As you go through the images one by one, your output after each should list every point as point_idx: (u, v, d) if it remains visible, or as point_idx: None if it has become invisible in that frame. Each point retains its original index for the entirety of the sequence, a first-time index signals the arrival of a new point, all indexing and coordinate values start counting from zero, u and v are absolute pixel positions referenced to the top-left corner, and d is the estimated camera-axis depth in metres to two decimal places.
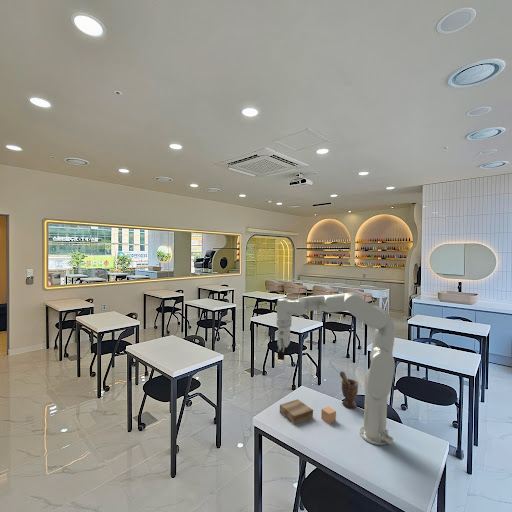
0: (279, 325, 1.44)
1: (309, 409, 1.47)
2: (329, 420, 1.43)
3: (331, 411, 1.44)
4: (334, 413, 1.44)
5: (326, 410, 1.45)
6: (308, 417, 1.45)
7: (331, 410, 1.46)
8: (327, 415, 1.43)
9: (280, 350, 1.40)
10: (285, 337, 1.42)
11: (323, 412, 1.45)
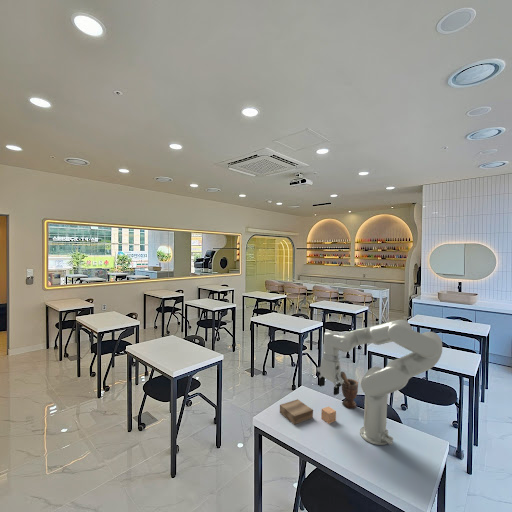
0: (333, 360, 1.42)
1: (309, 409, 1.47)
2: (329, 420, 1.43)
3: (331, 411, 1.44)
4: (334, 413, 1.44)
5: (326, 410, 1.45)
6: (308, 417, 1.45)
7: (331, 410, 1.46)
8: (327, 415, 1.43)
9: (340, 385, 1.40)
10: (340, 371, 1.42)
11: (323, 412, 1.45)
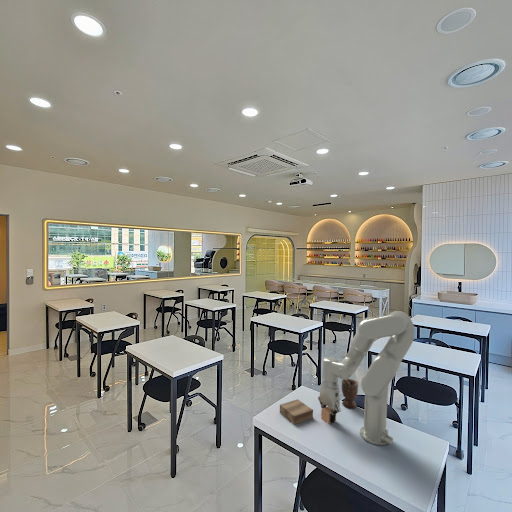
0: (332, 387, 1.42)
1: (309, 409, 1.47)
2: (329, 420, 1.43)
3: None
4: None
5: (326, 410, 1.45)
6: (308, 417, 1.45)
7: None
8: (327, 415, 1.43)
9: (336, 413, 1.41)
10: (339, 398, 1.42)
11: (323, 412, 1.45)
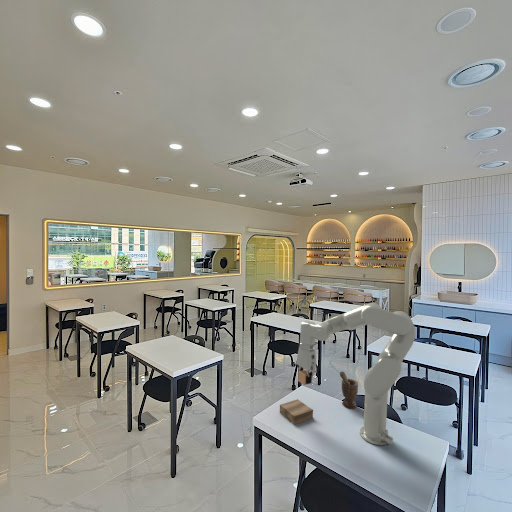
0: (309, 350, 1.44)
1: (309, 409, 1.47)
2: (305, 382, 1.45)
3: None
4: None
5: (303, 372, 1.47)
6: (308, 417, 1.45)
7: None
8: (303, 376, 1.45)
9: (312, 374, 1.44)
10: (315, 360, 1.44)
11: (300, 374, 1.48)
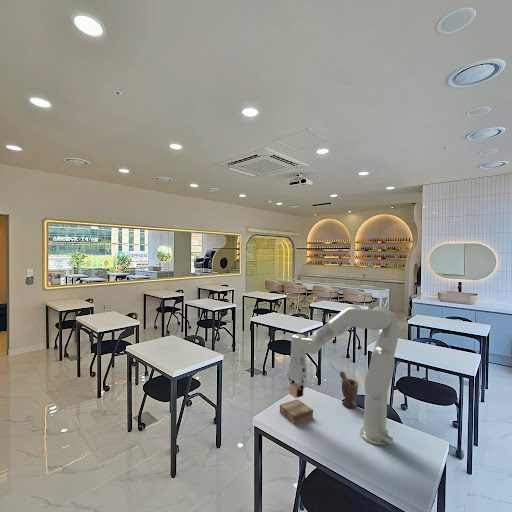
0: (299, 363, 1.45)
1: (309, 409, 1.47)
2: None
3: None
4: None
5: (294, 385, 1.48)
6: (308, 417, 1.45)
7: None
8: (294, 389, 1.46)
9: (303, 388, 1.44)
10: (306, 373, 1.45)
11: (291, 387, 1.48)
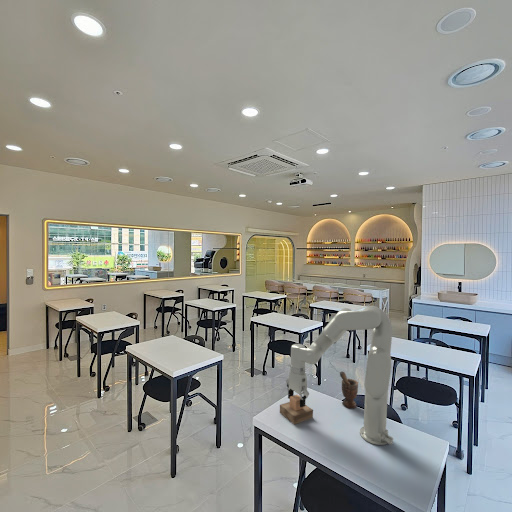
0: (299, 373, 1.45)
1: (309, 409, 1.47)
2: (297, 408, 1.46)
3: (299, 399, 1.47)
4: None
5: (294, 397, 1.48)
6: (308, 417, 1.45)
7: (299, 397, 1.49)
8: (294, 402, 1.46)
9: (305, 398, 1.43)
10: (306, 383, 1.45)
11: (291, 400, 1.48)
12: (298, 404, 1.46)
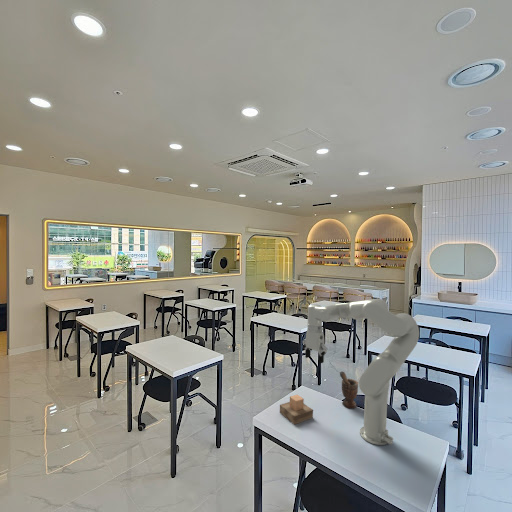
0: (317, 331, 1.51)
1: (309, 409, 1.47)
2: (297, 408, 1.46)
3: (299, 399, 1.47)
4: (301, 401, 1.47)
5: (294, 397, 1.48)
6: (308, 417, 1.45)
7: (299, 397, 1.49)
8: (294, 402, 1.46)
9: (324, 354, 1.48)
10: (323, 340, 1.51)
11: (291, 400, 1.48)
12: (298, 404, 1.46)
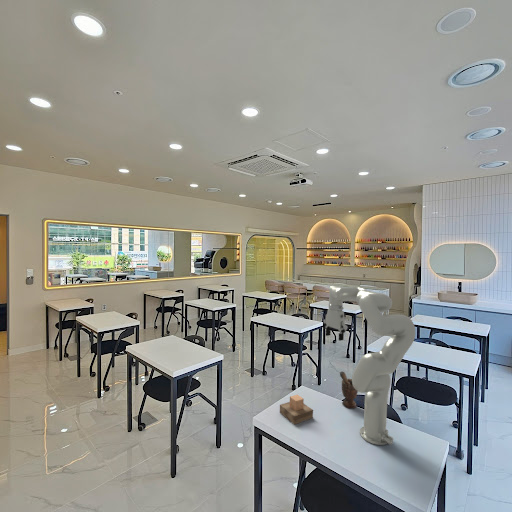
0: (338, 310, 1.59)
1: (309, 409, 1.47)
2: (297, 408, 1.46)
3: (299, 399, 1.47)
4: (301, 401, 1.47)
5: (294, 397, 1.48)
6: (308, 417, 1.45)
7: (299, 397, 1.49)
8: (294, 402, 1.46)
9: (344, 331, 1.57)
10: (344, 319, 1.60)
11: (291, 400, 1.48)
12: (298, 404, 1.46)
